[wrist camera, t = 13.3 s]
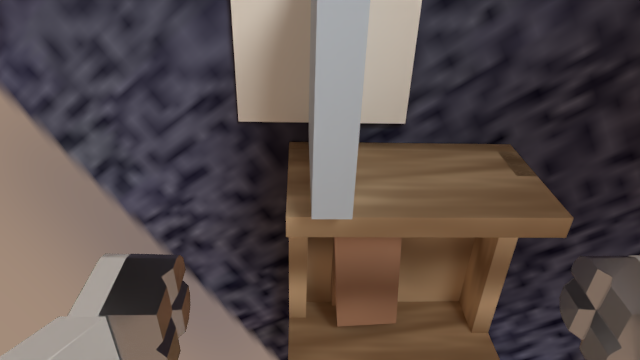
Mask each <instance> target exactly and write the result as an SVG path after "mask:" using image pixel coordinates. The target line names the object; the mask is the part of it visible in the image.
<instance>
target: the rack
mask: <svg viewBox="0 0 640 360" xmlns="http://www.w3.org/2000/svg"><path fill="white" fill-rule="evenodd" d="M572 221H573V217H572V216H571V215H570V213H569V212H568V211H567V210H566V209H565V208H564V206H563V205H562V204H561V203H560V202H559V201H558V199H557V198H556V197H555V196H554V195H553V194H552V193H551V191H550V190H549V189H548V188H547V187H546V186H545V184H544V183H543V182H542V181H541V180H540V179H539V177H538V176H537V175H536V174H535V173H534V172H533V170H532V169H531V168H530V167H529V166H528V165H527V163H526V162H525V161H524V160H523V159H522V158H521V156H520V155H519V154H518V153H517V152H516V151H515V150H514V148H513V147H512V146H511V145H510V144H439V143H359V144H358V156H357V168H356V181H355V193H354V205H353V217H352V219H311V191H310V162H309V142H289V160H288V182H287V204H286V237H289V346H288V360H500V359H499V357H498V355H497V352H496V350H495V348H494V345H493V343H492V341H491V339H490V336H489V334H488V331H489V328H490V325H491V322H492V319H493V315H494V312H495V309H496V306H497V303H498V300H499V297H500V293H501V290H502V287H503V284H504V281H505V278H506V274H507V271H508V268H509V265H510V262H511V259H512V256H513V252H514V249H515V246H516V243H517V240H518V238H566V237H567V234H568V231H569V229H570V226H571V224H572ZM334 237H402V241H401V257H400V272H399V287H398V302H397V317H396V323H392V324H374V325H356V326H339V327H337V317H336V305H332V301H331V273H332V255H333V238H334Z"/></svg>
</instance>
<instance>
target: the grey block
mask: <svg viewBox="0 0 640 360" xmlns="http://www.w3.org/2000/svg"><path fill="white" fill-rule="evenodd" d="M369 10H370V0H311V26H310V77H309V128H308V133H309V162H310V191H311V219H352V217H353V205H354V193H355V181H356V168H357V156H358V144H359V132H360V120H361V107H362V95H363V83H364V71H365V59H366V46H367V34H368V22H369Z"/></svg>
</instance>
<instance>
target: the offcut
mask: <svg viewBox="0 0 640 360" xmlns="http://www.w3.org/2000/svg"><path fill="white" fill-rule="evenodd" d="M401 241H402V237H334V265H335V299H336V317H337V327H339V326H356V325H374V324H392V323H396V317H397V302H398V287H399V272H400V257H401Z"/></svg>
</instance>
